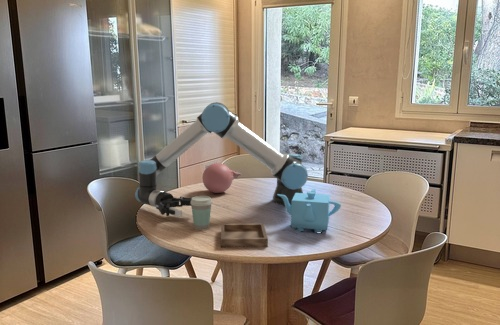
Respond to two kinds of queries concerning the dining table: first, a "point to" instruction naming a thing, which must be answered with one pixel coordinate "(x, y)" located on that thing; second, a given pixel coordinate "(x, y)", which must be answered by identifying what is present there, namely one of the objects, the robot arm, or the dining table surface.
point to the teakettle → (310, 210)
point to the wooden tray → (243, 235)
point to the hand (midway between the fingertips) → (194, 210)
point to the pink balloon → (218, 177)
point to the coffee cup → (201, 211)
